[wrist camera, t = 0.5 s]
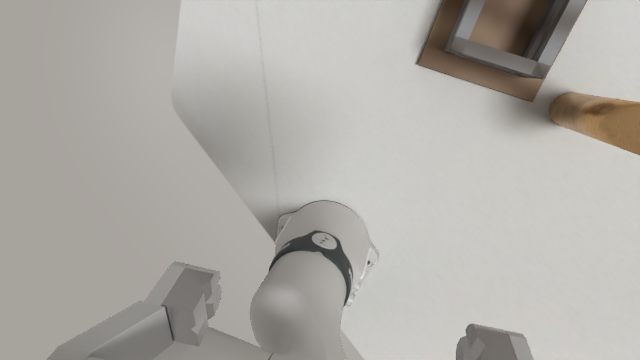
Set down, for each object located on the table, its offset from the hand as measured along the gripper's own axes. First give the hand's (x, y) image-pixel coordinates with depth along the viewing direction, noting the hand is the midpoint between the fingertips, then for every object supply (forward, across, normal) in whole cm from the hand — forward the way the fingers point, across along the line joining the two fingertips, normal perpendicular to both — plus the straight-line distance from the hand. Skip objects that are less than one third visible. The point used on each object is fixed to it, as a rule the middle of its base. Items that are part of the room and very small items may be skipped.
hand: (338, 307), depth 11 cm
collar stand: (+45, +16, +5) cm, 47 cm away
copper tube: (+41, +27, -4) cm, 50 cm away
